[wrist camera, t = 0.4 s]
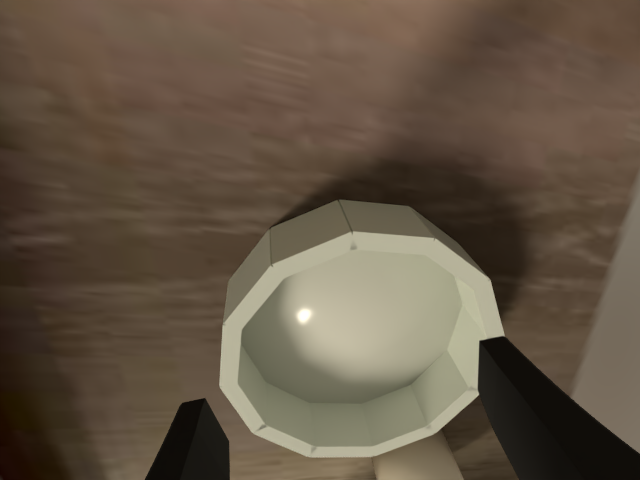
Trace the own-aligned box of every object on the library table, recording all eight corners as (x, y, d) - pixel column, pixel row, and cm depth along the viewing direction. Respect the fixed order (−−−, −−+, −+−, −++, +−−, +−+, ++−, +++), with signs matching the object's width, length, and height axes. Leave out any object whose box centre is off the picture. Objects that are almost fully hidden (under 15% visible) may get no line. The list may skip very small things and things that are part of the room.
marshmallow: (409, 481, 30) (431, 550, 26) (354, 456, 29) (370, 527, 25) (459, 437, 29) (491, 503, 25) (406, 408, 27) (431, 475, 23)
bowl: (363, 433, 28) (376, 486, 24) (178, 345, 23) (164, 396, 20) (516, 287, 24) (554, 327, 21) (332, 147, 19) (346, 171, 16)
